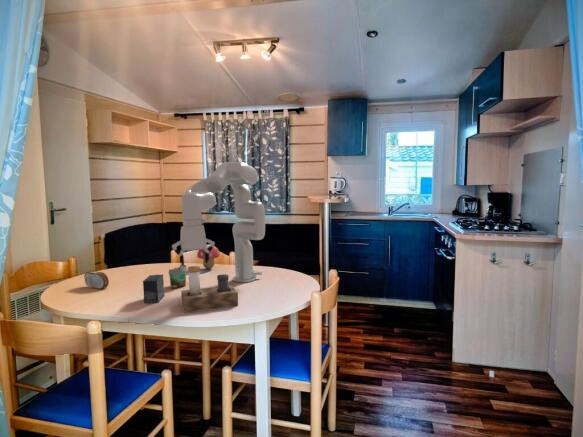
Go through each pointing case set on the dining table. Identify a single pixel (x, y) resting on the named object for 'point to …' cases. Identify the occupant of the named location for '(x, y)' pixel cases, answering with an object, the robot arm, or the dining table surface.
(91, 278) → the tin
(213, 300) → the block
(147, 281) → the small box
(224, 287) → the black plug
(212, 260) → the decorative mushroom
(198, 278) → the orange-brown and white plug
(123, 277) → the dining table surface
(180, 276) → the food container
